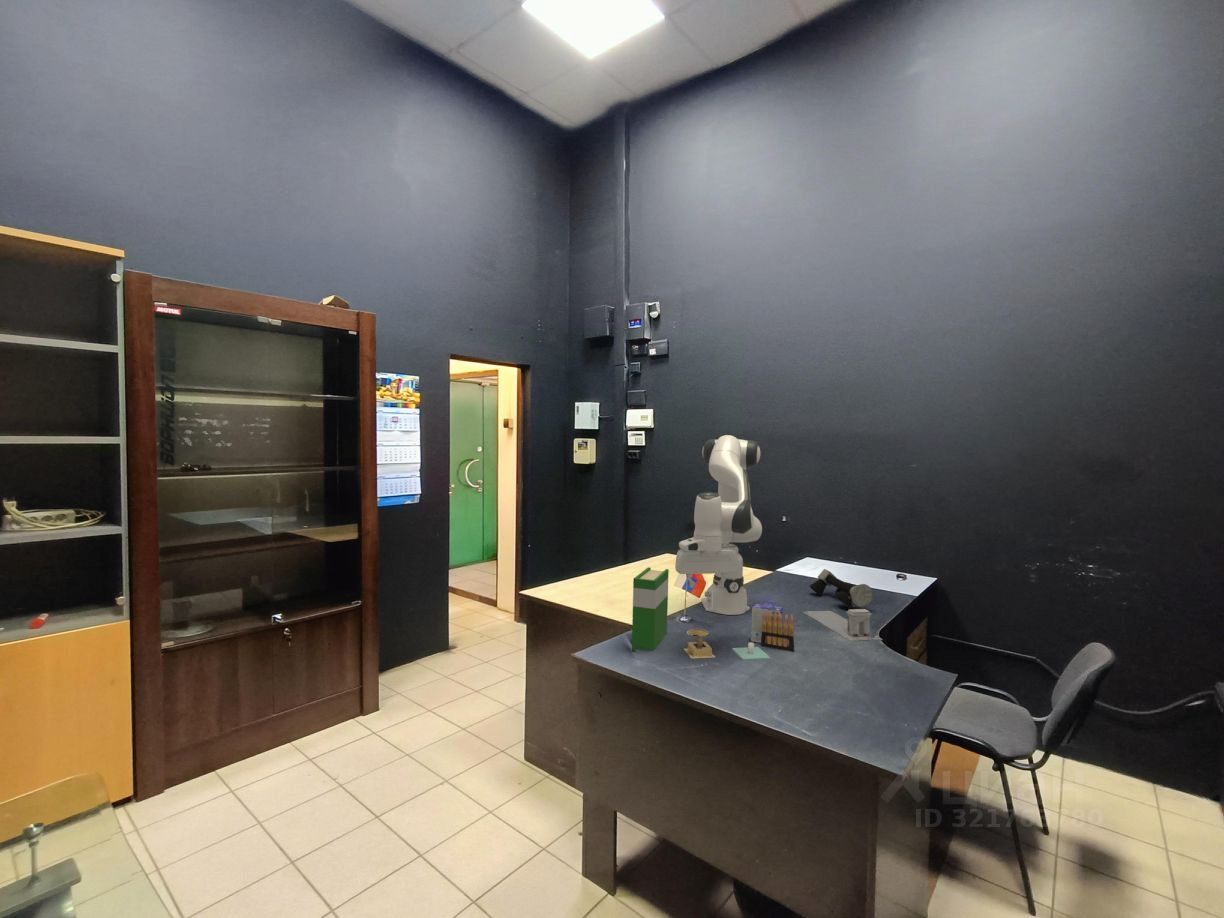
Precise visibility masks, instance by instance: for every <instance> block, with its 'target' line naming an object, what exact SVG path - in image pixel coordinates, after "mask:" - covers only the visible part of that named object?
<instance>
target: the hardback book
mask: <svg viewBox="0 0 1224 918" xmlns="http://www.w3.org/2000/svg"><path fill="white" fill-rule="evenodd" d="M651 568H652V567H649V566H648V567H646V568H645V569H644V570H643V571H641V572H640V573H639V574H637V575H636V576H635V577H634V578H633V580H632V581H633V583H632V584H633V587H632V590H633V591H632V622H631V623H632V628H631V632H632V633H631V652H632V653H635V652H636V650H635V649H641V650H647V651H653V652H654V651H655V650H656V649H657V647H658V646H659V645H660V643H661V642H662V640H663V639H664V638H665V636H666V635H667V634H668V610H669V609H668V605H669V601H668V600H669V572H670V571H669V569H667V568H665V570H657V569H651ZM636 653H637V652H636Z"/></svg>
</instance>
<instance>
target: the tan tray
mask: <svg viewBox="0 0 1224 918" xmlns="http://www.w3.org/2000/svg"><path fill="white" fill-rule="evenodd" d="M687 649H688V651H689V652H690V653H691V655H692V656H693V657H703V656H712V653H713V648H712V647H711V646H710V645H709V643H707V641H703V647H699V648H697V641H690V642H687Z"/></svg>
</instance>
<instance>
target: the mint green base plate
mask: <svg viewBox="0 0 1224 918" xmlns="http://www.w3.org/2000/svg"><path fill="white" fill-rule="evenodd" d="M731 651H733V653H734V654H736V655H737V656H738V657H739V658H740V659H741V660H742V661H743V662H745V661H746V662H747V661H764V660H766V661H767V660H769V661H771V657H770V656H769V655H768V654H767V653H766V652H765V651H764V650H762V649H761V648H760V647H758V646H755V642H753V641H751V642H748V643H747V647H731Z"/></svg>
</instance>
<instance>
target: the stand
mask: <svg viewBox="0 0 1224 918" xmlns="http://www.w3.org/2000/svg"><path fill="white" fill-rule="evenodd" d="M696 642H697V648H699V647H703V642H704V637H703V636H697V637H696ZM683 650H684V651H685V653H687V655H688V657H689V658H690V659H708V658H709V659H711V658H716V656H715V654H714V653H713V652H712V656H703V657H693V656H692V655H691V653H690V652H689V651H688V648H683Z"/></svg>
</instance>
